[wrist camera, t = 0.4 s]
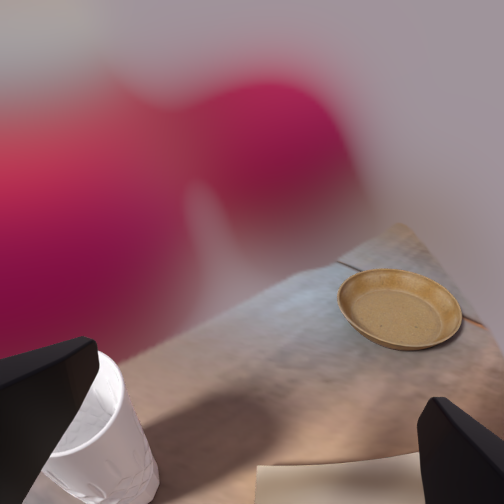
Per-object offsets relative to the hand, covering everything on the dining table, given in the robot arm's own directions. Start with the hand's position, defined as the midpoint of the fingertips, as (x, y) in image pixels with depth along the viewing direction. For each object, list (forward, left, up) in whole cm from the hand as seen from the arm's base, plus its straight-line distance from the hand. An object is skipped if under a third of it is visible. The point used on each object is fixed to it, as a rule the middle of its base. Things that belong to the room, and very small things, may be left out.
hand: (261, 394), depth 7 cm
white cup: (+3, +11, -16) cm, 19 cm away
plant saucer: (+23, -14, -16) cm, 31 cm away
